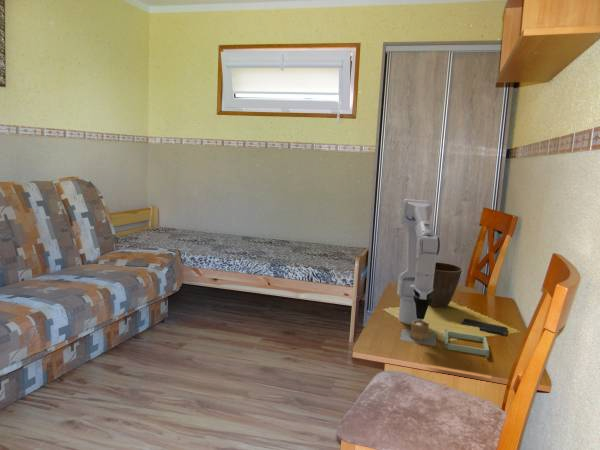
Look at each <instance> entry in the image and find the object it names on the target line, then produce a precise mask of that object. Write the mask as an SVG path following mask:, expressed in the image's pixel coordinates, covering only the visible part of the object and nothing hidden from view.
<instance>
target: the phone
mask: <svg viewBox="0 0 600 450" xmlns="http://www.w3.org/2000/svg"><path fill="white" fill-rule="evenodd" d="M460 325H461V326H468V327H475V328H479V331H480V332H484V333H490V334H493V335H494V334H495V335H499V336H506V335H507V334H508V330H509V329H508V327H505V326H501V325H499V324H498V325H497V324H492V323H487V322H484V321H483V322H482V321H479V320H475V319H474V320H473V319H470V318H469V319H468V318H463V320H462V321H461V322H460Z"/></svg>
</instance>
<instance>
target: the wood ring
mask: <svg viewBox="0 0 600 450" xmlns="http://www.w3.org/2000/svg"><path fill="white" fill-rule="evenodd" d="M416 323H423V324H424V325H423V326H422V325H417V324H416ZM429 327H430V325H429V322H426V321H423V320H419V321H418V320H415V321H412V322H411V324H410V330H411V331H410V337H411V338H413V339H415V340H421V341H422V340H427V336H428V333H429Z"/></svg>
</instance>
